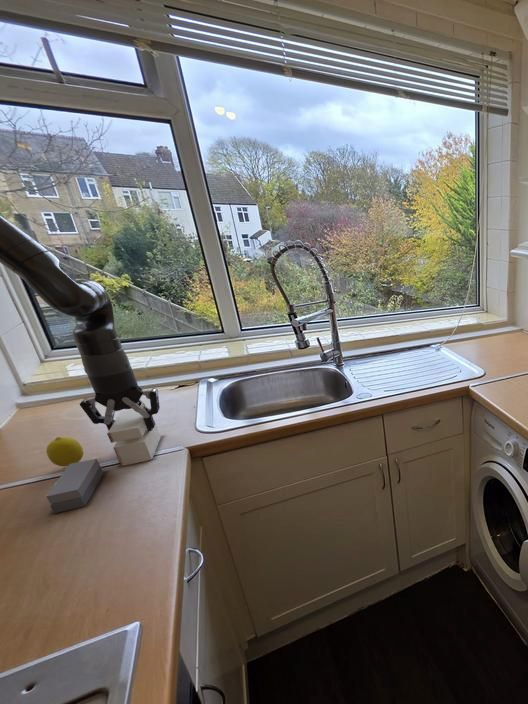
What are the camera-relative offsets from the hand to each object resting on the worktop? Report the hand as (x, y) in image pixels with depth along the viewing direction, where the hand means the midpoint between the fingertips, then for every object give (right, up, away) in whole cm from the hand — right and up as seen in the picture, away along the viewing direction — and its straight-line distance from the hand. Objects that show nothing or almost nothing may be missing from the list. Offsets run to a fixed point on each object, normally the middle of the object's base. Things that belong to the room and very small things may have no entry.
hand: (134, 432), depth 100 cm
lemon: (-11, -8, -4) cm, 14 cm away
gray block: (0, -11, -12) cm, 17 cm away
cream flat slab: (0, +1, 0) cm, 1 cm away
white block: (0, -5, +2) cm, 5 cm away
